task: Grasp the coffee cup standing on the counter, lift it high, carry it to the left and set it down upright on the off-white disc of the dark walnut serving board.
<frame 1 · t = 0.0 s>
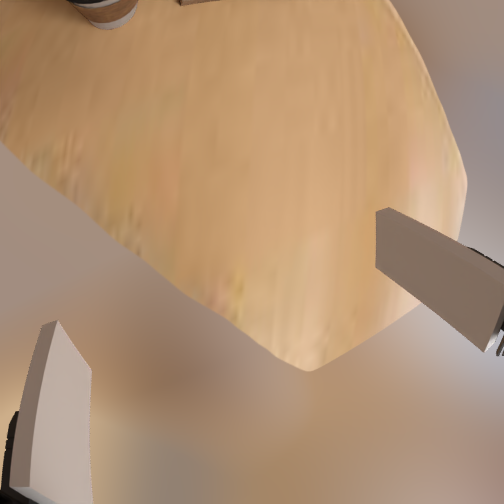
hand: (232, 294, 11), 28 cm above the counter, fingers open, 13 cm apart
coffee cup: (112, 9, 24), on the counter
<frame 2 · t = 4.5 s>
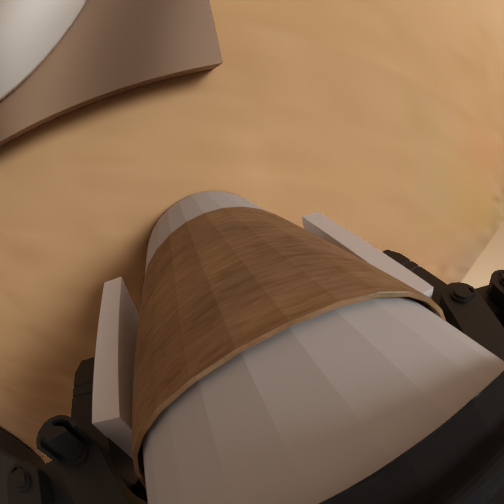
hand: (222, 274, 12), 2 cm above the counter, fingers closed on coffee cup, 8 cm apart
coffee cup: (209, 250, 15), on the counter, touching gripper
when the fingers open (5 cm above the counter, at t = 10.4 s): coffee cup drops 1 cm, resting on board.
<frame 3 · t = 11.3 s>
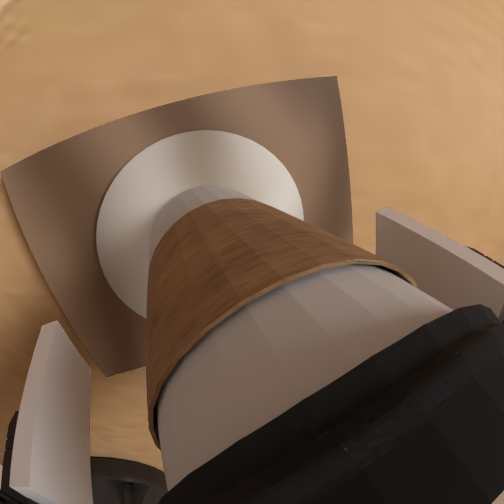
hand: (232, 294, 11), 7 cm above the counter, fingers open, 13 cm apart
coffee cup: (207, 241, 16), point 2 cm above the counter, touching board
board: (198, 228, 17), on the counter
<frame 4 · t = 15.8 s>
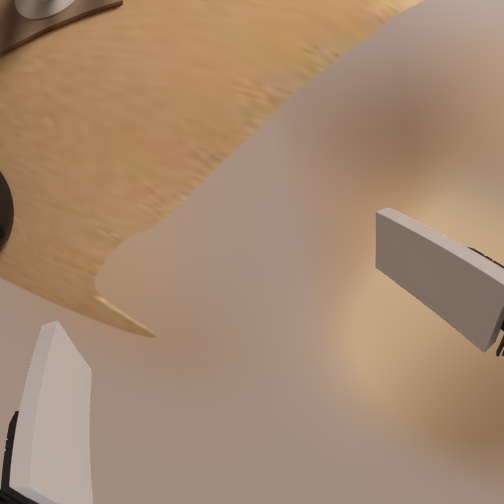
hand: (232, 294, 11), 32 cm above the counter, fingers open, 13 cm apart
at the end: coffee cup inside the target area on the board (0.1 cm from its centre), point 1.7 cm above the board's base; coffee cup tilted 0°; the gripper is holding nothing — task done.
